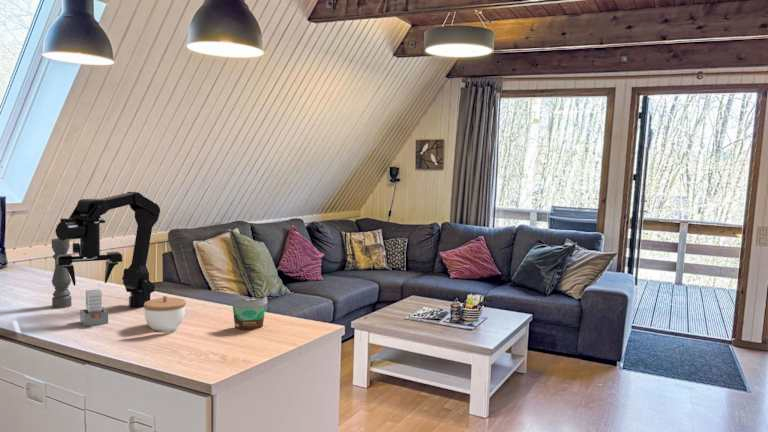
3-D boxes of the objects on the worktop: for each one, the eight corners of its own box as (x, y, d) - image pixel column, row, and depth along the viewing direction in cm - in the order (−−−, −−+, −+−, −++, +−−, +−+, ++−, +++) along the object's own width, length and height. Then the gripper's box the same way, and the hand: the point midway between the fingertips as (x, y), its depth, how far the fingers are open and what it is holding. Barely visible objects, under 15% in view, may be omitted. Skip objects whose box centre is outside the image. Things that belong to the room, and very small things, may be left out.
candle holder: (48, 306, 202) (46, 239, 200) (63, 303, 208) (62, 237, 206) (60, 309, 200) (58, 240, 198) (75, 305, 206) (74, 238, 204)
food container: (234, 332, 178) (234, 302, 177) (230, 327, 184) (230, 298, 183) (271, 328, 184) (272, 299, 183) (266, 323, 189) (267, 295, 189)
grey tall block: (100, 320, 184) (99, 289, 183) (102, 323, 180) (102, 291, 180) (85, 321, 181) (85, 290, 181) (88, 325, 178) (87, 293, 177)
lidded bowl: (144, 325, 183) (143, 293, 182) (184, 322, 188) (184, 290, 187) (144, 337, 171) (143, 302, 170) (186, 333, 176) (186, 299, 175)
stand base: (112, 317, 191) (112, 303, 191) (122, 327, 180) (122, 312, 179) (66, 323, 182) (66, 309, 182) (73, 334, 171) (73, 318, 171)
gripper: (116, 233, 193) (116, 277, 195) (54, 235, 183) (55, 282, 184) (122, 237, 184) (122, 283, 186) (58, 239, 174) (58, 288, 175)
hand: (90, 284), depth 183 cm, fingers open, 9 cm apart
